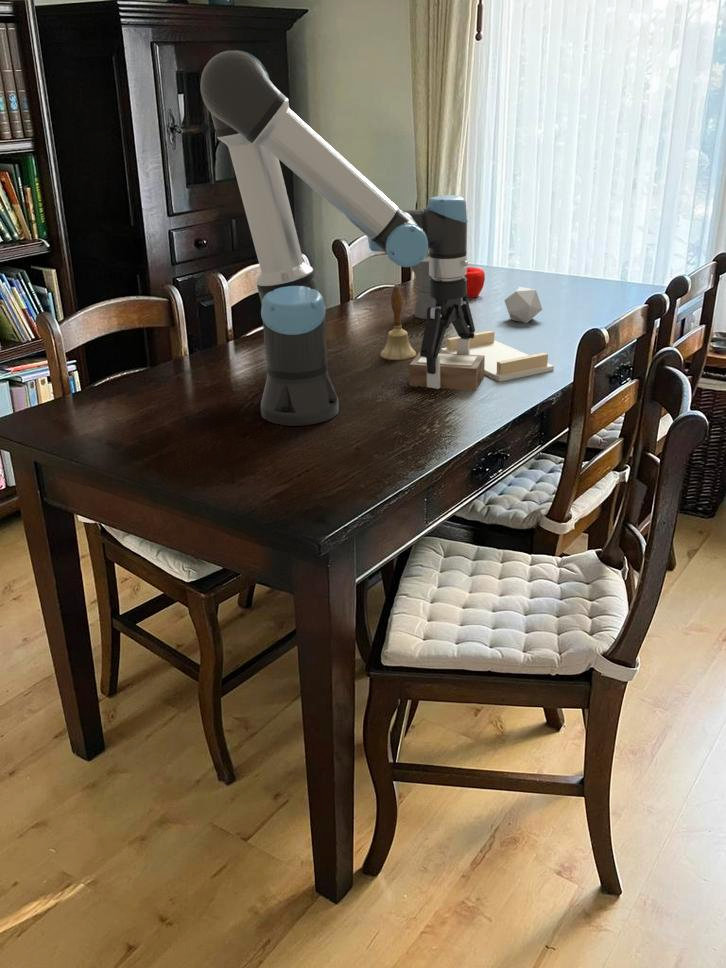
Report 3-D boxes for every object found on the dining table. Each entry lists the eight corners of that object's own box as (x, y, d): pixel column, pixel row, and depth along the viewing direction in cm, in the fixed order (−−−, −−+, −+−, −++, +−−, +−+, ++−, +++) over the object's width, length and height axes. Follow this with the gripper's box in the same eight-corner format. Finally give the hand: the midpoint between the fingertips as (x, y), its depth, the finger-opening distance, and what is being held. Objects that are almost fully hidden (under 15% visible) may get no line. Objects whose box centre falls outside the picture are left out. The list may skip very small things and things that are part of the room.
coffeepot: (412, 321, 233) (411, 251, 225) (402, 313, 241) (401, 244, 233) (468, 316, 236) (469, 246, 228) (457, 307, 244) (457, 240, 236)
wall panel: (499, 381, 188) (499, 361, 186) (440, 352, 208) (440, 334, 206) (553, 370, 193) (554, 351, 192) (491, 343, 213) (492, 325, 211)
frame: (475, 392, 184) (476, 367, 182) (409, 387, 188) (409, 363, 186) (484, 378, 192) (484, 354, 189) (420, 373, 196) (420, 350, 193)
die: (548, 323, 230) (541, 286, 232) (536, 313, 222) (530, 275, 224) (516, 332, 234) (510, 296, 236) (504, 323, 226) (498, 286, 228)
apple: (453, 292, 260) (453, 265, 256) (484, 292, 259) (484, 265, 255) (453, 300, 252) (453, 272, 248) (484, 300, 251) (485, 272, 247)
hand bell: (413, 360, 203) (412, 290, 196) (377, 359, 205) (375, 290, 198) (418, 350, 210) (418, 282, 204) (383, 349, 212) (382, 281, 205)
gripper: (435, 292, 169) (437, 398, 178) (491, 265, 188) (490, 362, 197) (400, 289, 173) (404, 393, 182) (459, 262, 191) (459, 358, 201)
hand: (448, 377), depth 189 cm, fingers open, 13 cm apart
